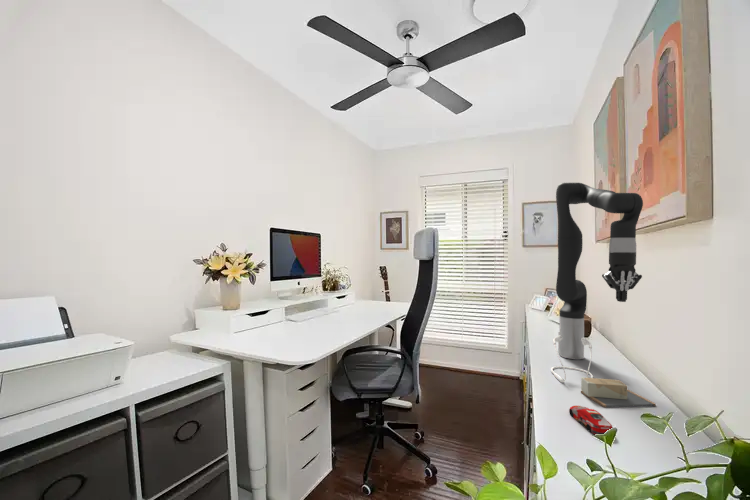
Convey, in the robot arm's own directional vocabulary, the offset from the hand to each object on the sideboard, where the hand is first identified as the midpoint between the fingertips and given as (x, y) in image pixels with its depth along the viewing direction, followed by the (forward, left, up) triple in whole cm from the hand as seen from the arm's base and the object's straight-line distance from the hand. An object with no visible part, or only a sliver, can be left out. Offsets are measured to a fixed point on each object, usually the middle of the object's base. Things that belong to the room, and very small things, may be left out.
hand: (621, 301), depth 115 cm
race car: (+25, -29, -29) cm, 48 cm away
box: (+10, -8, -26) cm, 29 cm away
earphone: (-7, -12, -29) cm, 32 cm away
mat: (+11, -11, -29) cm, 32 cm away
